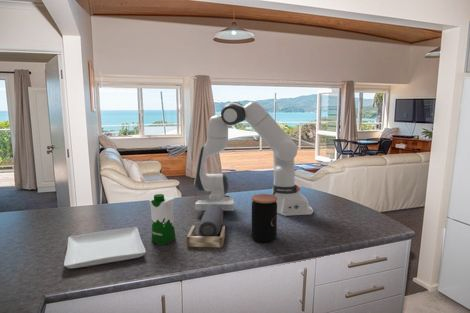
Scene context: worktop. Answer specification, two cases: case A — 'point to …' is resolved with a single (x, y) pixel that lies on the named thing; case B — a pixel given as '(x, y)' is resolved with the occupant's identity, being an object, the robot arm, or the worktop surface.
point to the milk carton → (162, 219)
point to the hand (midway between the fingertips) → (213, 210)
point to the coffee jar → (264, 218)
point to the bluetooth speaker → (211, 221)
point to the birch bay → (205, 239)
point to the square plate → (103, 247)
